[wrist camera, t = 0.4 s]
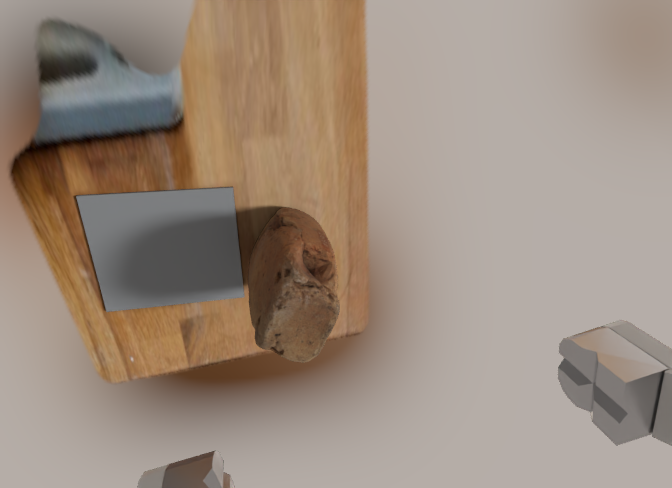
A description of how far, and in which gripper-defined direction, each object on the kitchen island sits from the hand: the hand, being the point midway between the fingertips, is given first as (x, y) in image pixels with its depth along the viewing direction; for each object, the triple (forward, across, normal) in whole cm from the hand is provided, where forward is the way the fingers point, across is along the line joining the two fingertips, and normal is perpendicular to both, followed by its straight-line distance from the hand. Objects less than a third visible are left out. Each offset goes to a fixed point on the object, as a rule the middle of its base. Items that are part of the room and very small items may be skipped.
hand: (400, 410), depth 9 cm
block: (+46, +2, +14) cm, 48 cm away
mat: (+45, +17, +11) cm, 50 cm away
